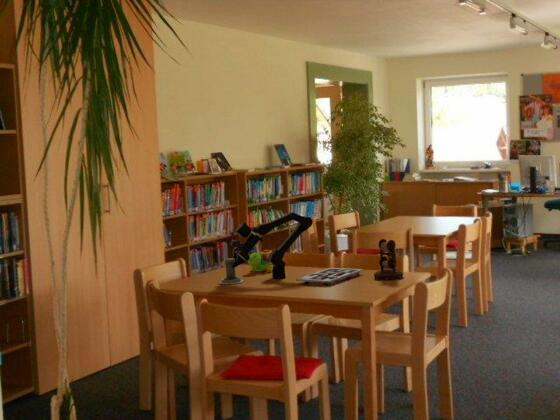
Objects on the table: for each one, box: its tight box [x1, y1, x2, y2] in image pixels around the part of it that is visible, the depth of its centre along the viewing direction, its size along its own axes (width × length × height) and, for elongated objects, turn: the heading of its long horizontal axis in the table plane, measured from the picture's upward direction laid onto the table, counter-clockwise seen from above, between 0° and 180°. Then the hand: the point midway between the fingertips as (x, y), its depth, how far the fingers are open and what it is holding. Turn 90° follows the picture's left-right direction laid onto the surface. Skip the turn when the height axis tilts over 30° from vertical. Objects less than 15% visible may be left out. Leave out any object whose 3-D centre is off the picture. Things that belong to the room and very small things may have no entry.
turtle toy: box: [247, 249, 273, 273], centre depth 452 cm, size 17×23×12 cm
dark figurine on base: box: [373, 238, 404, 281], centre depth 404 cm, size 15×15×20 cm
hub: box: [218, 276, 244, 286], centre depth 420 cm, size 13×13×2 cm
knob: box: [224, 257, 237, 280], centre depth 419 cm, size 5×5×12 cm
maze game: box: [295, 267, 363, 286], centre depth 411 cm, size 35×20×3 cm, turn 146°
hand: (231, 266), depth 419 cm, fingers open, 9 cm apart
